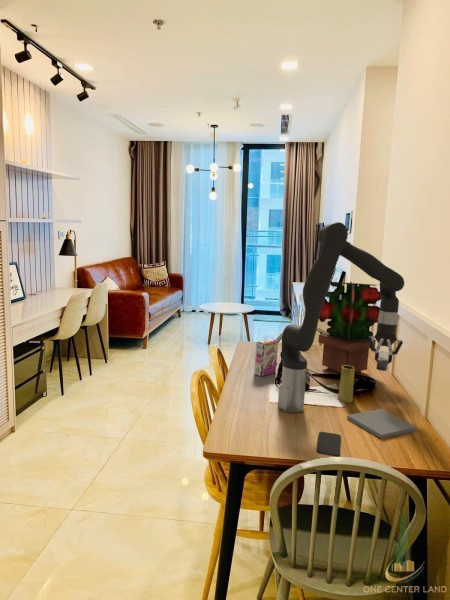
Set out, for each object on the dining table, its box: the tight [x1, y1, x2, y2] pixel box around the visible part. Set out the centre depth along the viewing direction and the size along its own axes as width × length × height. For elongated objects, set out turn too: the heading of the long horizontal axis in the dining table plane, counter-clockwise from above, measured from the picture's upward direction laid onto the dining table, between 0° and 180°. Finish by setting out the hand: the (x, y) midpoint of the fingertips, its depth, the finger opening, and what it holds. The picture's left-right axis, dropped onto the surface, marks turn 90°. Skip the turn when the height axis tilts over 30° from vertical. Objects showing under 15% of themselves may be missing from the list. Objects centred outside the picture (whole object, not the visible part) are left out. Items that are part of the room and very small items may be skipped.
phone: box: [316, 431, 342, 457], centre depth 146 cm, size 7×1×15 cm
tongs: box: [375, 350, 389, 372], centre depth 183 cm, size 18×4×4 cm, turn 157°
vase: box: [337, 365, 355, 403], centre depth 185 cm, size 6×6×14 cm
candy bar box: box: [253, 338, 279, 378], centre depth 213 cm, size 11×5×16 cm, turn 134°
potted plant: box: [318, 280, 381, 375], centre depth 221 cm, size 22×22×45 cm
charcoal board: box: [346, 408, 417, 439], centre depth 163 cm, size 17×17×2 cm
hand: (382, 362), depth 183 cm, fingers closed on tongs, 4 cm apart
